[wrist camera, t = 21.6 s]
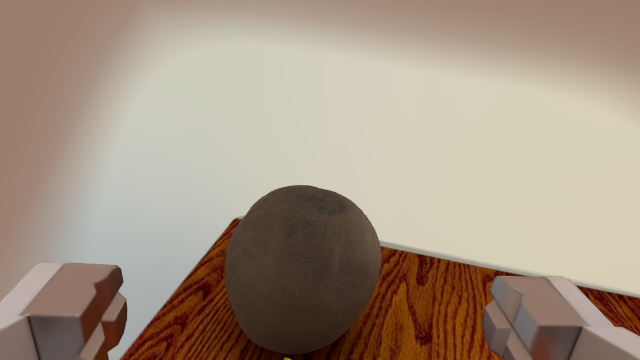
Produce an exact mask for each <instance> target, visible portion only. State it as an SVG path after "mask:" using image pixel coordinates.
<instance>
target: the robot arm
mask: <svg viewBox="0 0 640 360" xmlns="http://www.w3.org/2000/svg"><path fill="white" fill-rule="evenodd" d="M122 283H123V277H122V272H121V269H120V268H119V267H118V266H117V265H103V264H83V263H58V262H43V263H39V264H37V265H36V266H35V267H34V268H33V269H32V270H31V271H30V272H29V273H28V274H27V275H26V276H25V277H24V278H23V279H22V280H21V281H20V282H19V283H18V284H17V285H16V286H15V287H14V288H13V289H12V290H11V291H10V292H9V293H8V294H7V296H6V297H5V298H4V299H3V300H2V301H1V302H0V360H109V358H108V351H109V350H111V349H113V348H114V347H115V346H117V345H118V344H119V342H120V340H121V338H122V335H123V333H124V329H125V325H126V321H127V303H126V299H125V298H124V297H123V296H122V295H121V294H120V293H119V292H118V290H119V289H120V287H121V285H122ZM490 292H491V294H492V296H493V298H494V300H492V301H491V302H490V303H489V304H488V305H487V306H486V307H485V310H484V314H483V318H482V324H483V334H484V337H485V340H486V343H487V345H488V346H489V348H490V350H491V351H492V352H494V353H495V354H496V355H498V356H499V357H500V358H502V359H501V360H640V336H638V335H636V334H634V333H632V332H630V331H628V330H626V329H624V328H622V327H614V326H613V325H612V324H611V322H610V321H609V320H608V319H607V318H606V317H605V316H604V315H603V314H602V313H601V312H600V311H599V310H598V309H597V308H596V307H595V306H594V305H593V304H592V303H591V302H590V300H589V299H588V298H587V297H586V296H585V295H584V294H583V293H582V292H581V291H580V290H579V289H578V288H577V287H576V286H575V285H574V284H573V283H572V282H571V281H570V280H569V279H567V278H565V277H563V276H541V277H513V276H497V277H496V278H495V279H494V281H493V282H492V285H491V289H490Z"/></svg>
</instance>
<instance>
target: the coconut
mask: <svg viewBox="0 0 640 360" xmlns="http://www.w3.org/2000/svg"><path fill="white" fill-rule="evenodd" d="M380 269H381V247H380V243H379V239H378V237H377V234H376V232H375V229H374V227H373V226H372V224H371V222H370V221H369V219H368V218H367V216H366V215H365V214H364V213H363V211H362V210H361V209H360V208H359V207H357V205H355V204H354V203H353V202H352V201H351V200H349V199H348V198H346V197H344V196H342V195H340V194H338V193H336V192H333V191H329V190H325V189H320V188H317V187H313V186H308V185H295V186H287V187H283V188H279V189H276V190H274V191H271V192H270V193H268V194H267V195H265V196H264V197H262V198H261V199H259V200H258V201H257V202H256V203H254V205H253V206H252V207H251V209H250V210H249V211H248V213H247V214H246V215H245V217H244V218H243V219H242V220H241V221H240V223H239V224H238V226H237V227H236V229H235V231H234V233H233V235H232V236H231V238H230V241H229V243H228V247H227V255H226V263H225V283H226V290H227V294H228V298H229V301H230V304H231V306H232V309H233V312H234V314H235V317H236V320H237V322H238V324H239V325H240V327H241V328H242V329H243V331H244V332H245V334H246V335H247V336H248V337H249V338H250V340H252V341H253V342H254V343H256V344H257V345H259V346H261V347H263V348H266V349H268V350H271V351H274V352H278V353H283V354H303V353H308V352H311V351H315V350H318V349H320V348H323V347H325V346H327V345H329V344H331V343H333V342H334V341H335V340H337V339H338V338H339V337H340V336H341V335H343V334H344V333H345V332H346V331H347V330H348V329H349V328H350V327H351V326H352V325H353V323H354V322H355V321H356V320H357V319H358V318H359V316H360V315H361V313H362V312H363V310H364V309H365V307H366V305H367V304H368V302H369V300H370V299H371V297H372V294H373V292H374V289H375V286H376V284H377V281H378V277H379V273H380Z"/></svg>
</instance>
